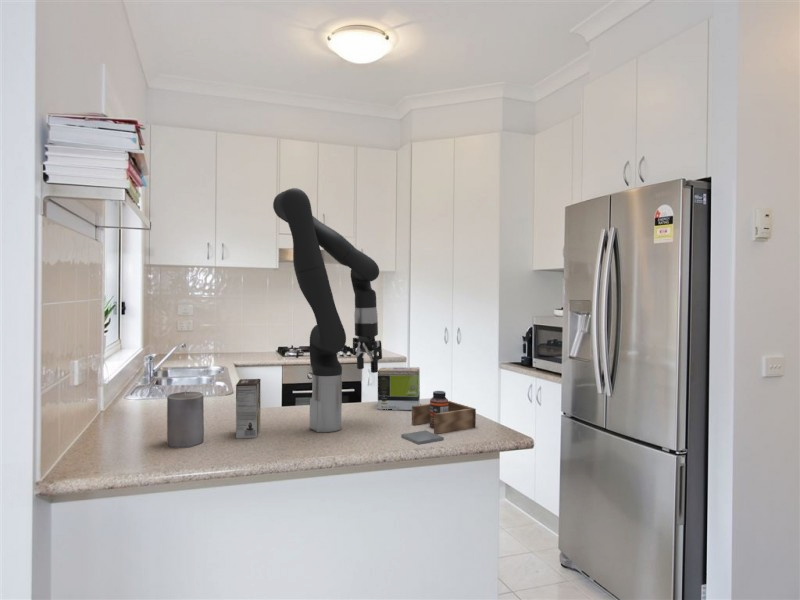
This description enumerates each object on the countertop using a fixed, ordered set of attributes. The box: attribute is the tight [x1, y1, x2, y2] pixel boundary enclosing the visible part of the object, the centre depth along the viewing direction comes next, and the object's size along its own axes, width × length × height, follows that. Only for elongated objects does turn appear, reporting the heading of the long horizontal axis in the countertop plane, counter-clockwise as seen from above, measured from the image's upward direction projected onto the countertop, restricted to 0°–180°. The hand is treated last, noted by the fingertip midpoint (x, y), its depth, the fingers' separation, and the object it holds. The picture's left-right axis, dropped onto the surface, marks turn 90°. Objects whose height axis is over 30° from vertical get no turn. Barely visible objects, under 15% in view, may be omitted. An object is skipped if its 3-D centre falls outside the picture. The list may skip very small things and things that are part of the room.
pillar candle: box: [166, 390, 205, 449], centre depth 154 cm, size 10×10×15 cm
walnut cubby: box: [411, 400, 477, 435], centre depth 176 cm, size 16×13×6 cm
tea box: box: [377, 366, 421, 411], centre depth 203 cm, size 15×10×15 cm
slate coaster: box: [400, 429, 445, 445], centre depth 162 cm, size 9×9×1 cm
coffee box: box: [235, 378, 262, 439], centre depth 164 cm, size 9×6×16 cm
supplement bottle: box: [429, 390, 449, 429], centre depth 175 cm, size 6×6×11 cm
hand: (367, 370), depth 178 cm, fingers open, 8 cm apart
